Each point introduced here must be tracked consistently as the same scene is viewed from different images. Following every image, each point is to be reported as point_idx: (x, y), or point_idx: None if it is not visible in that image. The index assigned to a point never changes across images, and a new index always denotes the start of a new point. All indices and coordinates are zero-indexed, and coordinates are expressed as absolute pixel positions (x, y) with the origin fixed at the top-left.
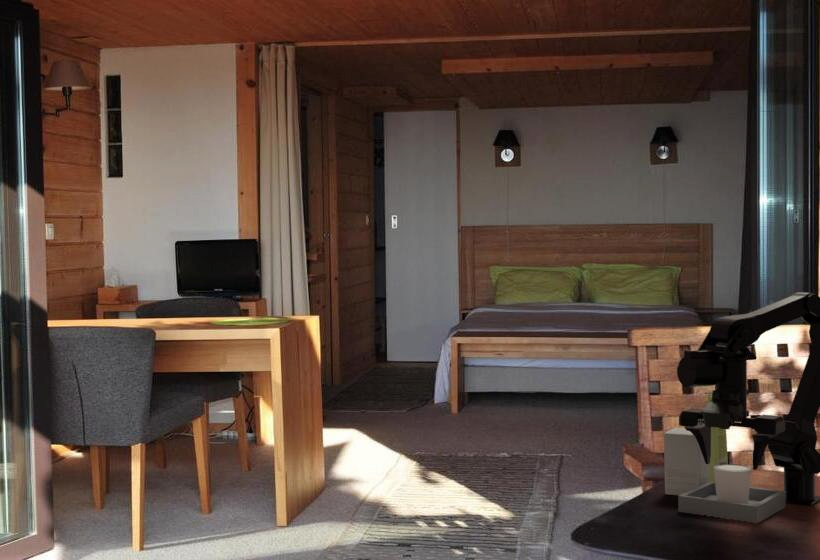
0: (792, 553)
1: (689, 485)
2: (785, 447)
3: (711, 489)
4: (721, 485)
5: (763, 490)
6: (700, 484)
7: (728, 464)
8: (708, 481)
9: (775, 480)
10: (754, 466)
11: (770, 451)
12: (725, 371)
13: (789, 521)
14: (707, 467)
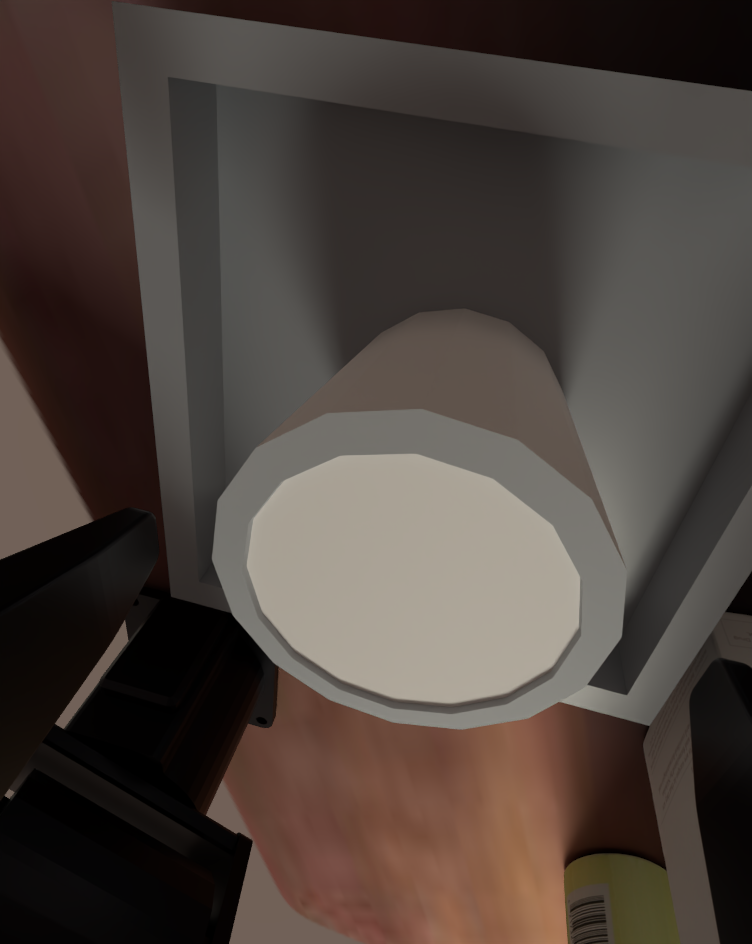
0: None
1: None
2: (5, 909)
3: (629, 649)
4: (513, 370)
5: None
6: None
7: (473, 708)
8: (658, 782)
9: (388, 884)
10: (111, 522)
11: (200, 923)
12: None
13: (62, 220)
14: (683, 870)
